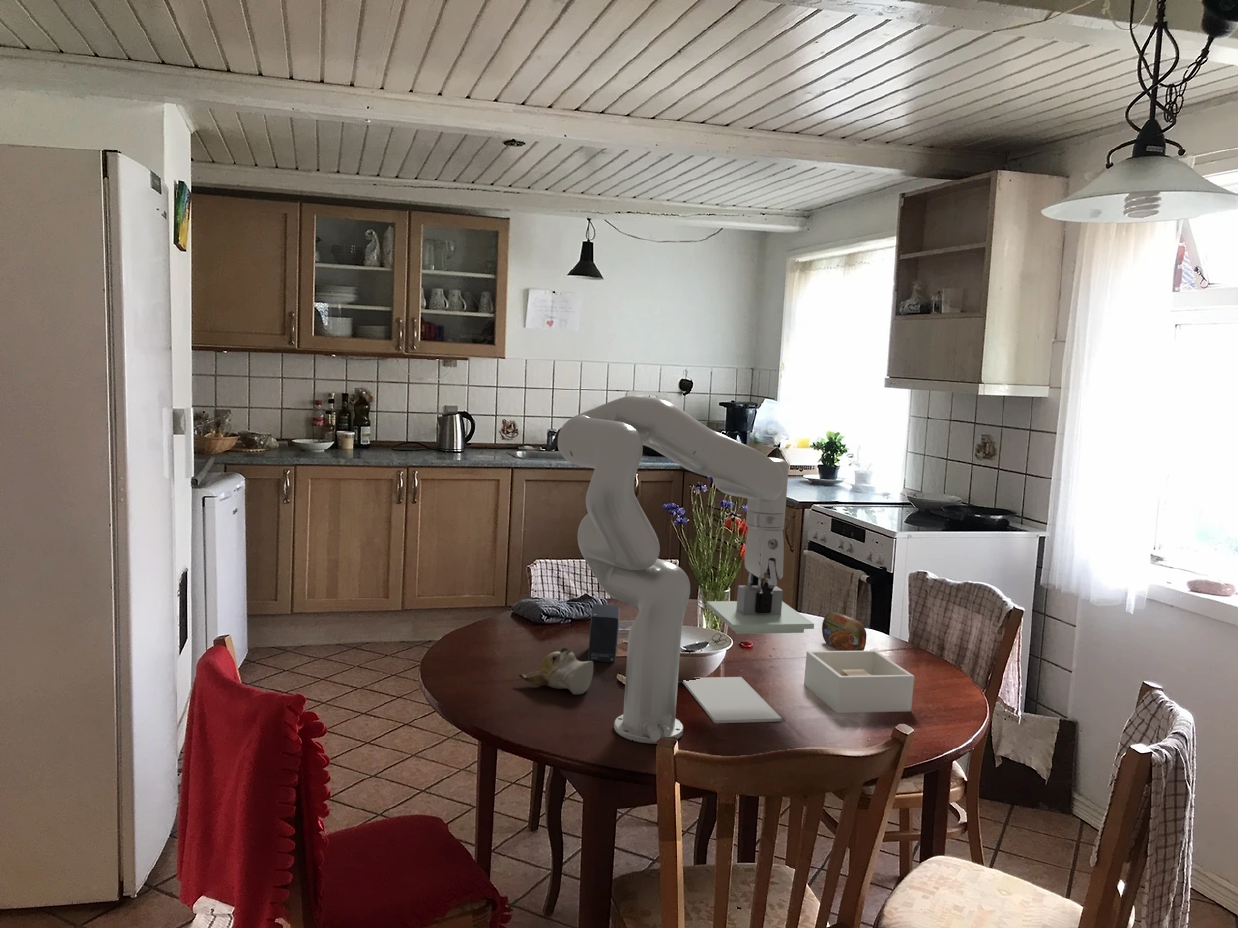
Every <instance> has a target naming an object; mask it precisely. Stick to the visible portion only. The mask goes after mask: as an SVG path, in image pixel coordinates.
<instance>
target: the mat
mask: <svg viewBox="0 0 1238 928" xmlns="http://www.w3.org/2000/svg"><path fill="white" fill-rule="evenodd" d="M699 678H700V679H696V680H689V681H686V680H683V682H682V684H683V685H684V687H685V688H686V689H687V690H688V691H689V693H690V694H691V695H692V696H693V698H694V699H695V700H696V702H698V704H699V705H700V706H701V708H702V709H703V710H704V712H705V714H707V715H708V717H709V718H710V719H711V720H712V722H713V724H728V723H729V724H734V723H735V724H737V723H741V724H742V723H769V722H770V723H771V722H772V723H773V722H786V720H785V719H784V717H782V715H780V714H779V713H778V712H777V711H776V709H775V708H774V707H773V706H771V705H770V704H769V703H768V702H767V700H766V699H764V698H763V696H761V695H760V693H759V692H758V691H757V690H756V689H755V688H754V687H753V686H752V685H751V684H750V683H749V682H748V681H747V680H746V679H745V678H744V677H742V676H726V677H725V676H724V677H723V676H722V677H721V676H720V677H717V676H715V677H709V676H707V677H699Z"/></svg>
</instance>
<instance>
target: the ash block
mask: <svg viewBox="0 0 1238 928" xmlns="http://www.w3.org/2000/svg"><path fill="white" fill-rule="evenodd" d="M867 675H870V674H869V673H868V672H866V671H865V670H864V669H857V670H841V676H867Z"/></svg>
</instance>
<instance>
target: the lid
mask: <svg viewBox="0 0 1238 928" xmlns="http://www.w3.org/2000/svg"><path fill="white" fill-rule="evenodd" d="M756 593H758V585H748V584H747V585H737V596H736V600H729V601H728V600H722V601H721V600H719V601H718V600H717V601H716V600H714V601H713V600H711V601H710V600H707V601H706V607H707V608H708V610H710V611H711V612H712V613H713V614H715V616H716V617H718V618H719V619H720V620H721V621H722V622H723V623H724V624H725V625H727V626H728V628H730V629H731V630H732V631H733V632H734V633H735V634H736V635H741V634H743V635H744V634H755V635H756V634H803V633H805V630H814V629H815V623H813V622H812V621H811V620H810V619H808V618H806V617H805V616H804V615H802V614H801V613H799V612H798V611H797V610H796V609H794V608H792V607H791V606H790V605H788V604H787V603H786V602H784V601H783V593H784V590H783V589H782V588H780V587H779V586H777V585H776V586H775V587H774V589H773V595H772V608H771V613H756V612H755V605H756Z"/></svg>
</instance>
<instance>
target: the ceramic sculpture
mask: <svg viewBox="0 0 1238 928" xmlns="http://www.w3.org/2000/svg"><path fill="white" fill-rule="evenodd" d="M593 674H594V661H588V660H587V661H586V660H585V661H582V660H581V661H580V660H578V658H576V655H575V653H574V652H573V651H572V650H570V649H568V648H565V647H562V648H561V649H560V651H554V652H550V653H549V654H547V655H546V656H545V657H544V658H543V659H542V661H541V665H540V669H539V670H538V671H535V670H534V671H530V672H528V673H525V674H524V673H520V674H518V677H519V678H520V679H521V680H523V681H525V682H526V683H529V684H530V685H533V686H537V687H538V686H541V687H542V686H548V687H549V688H553V689H558V690H563V689H566V690H567V689H568V690H569V691H570V693H572V695H574V696H575V695H583V694H585V692H587V690H588V689H589V688H590V685H591V683H592V679H593Z"/></svg>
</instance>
